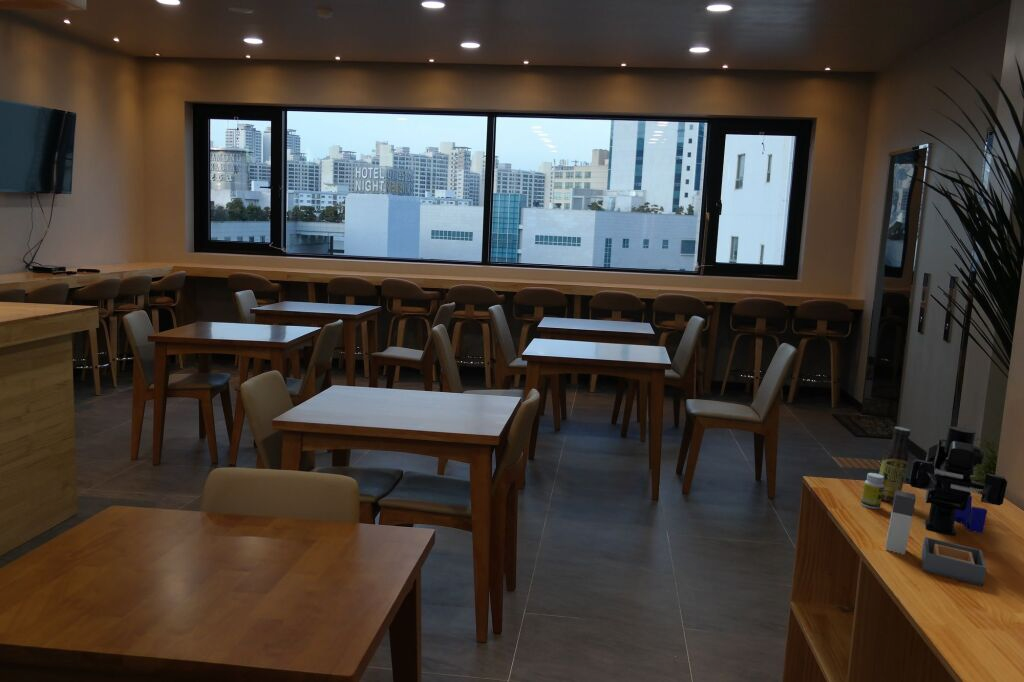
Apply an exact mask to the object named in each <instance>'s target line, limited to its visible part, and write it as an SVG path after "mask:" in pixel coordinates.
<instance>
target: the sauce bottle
mask: <svg viewBox="0 0 1024 682" xmlns="http://www.w3.org/2000/svg"><path fill="white" fill-rule="evenodd" d="M892 432H893V434H892V439H891V443H890V444H889V445H888V446H887V448H885V450H884V453H883V456H882V457H883V458H882V460H881V464H880V468H879V472H878V474H880V475H882V476H884V481H883V484H884V490H883V495H882V500H881V501H884V502H889V503H893V502H894V497H895V492H896V490H898V491H902V490H903V486H904V481H905V477H906V474H907V469H908V464H909V455H910V452H909V449H908V441H909V437H910V435H911V429H909V428H906V427H901V426H894V428H893V430H892ZM902 492H903V491H902Z"/></svg>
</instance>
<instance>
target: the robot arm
mask: <svg viewBox="0 0 1024 682" xmlns="http://www.w3.org/2000/svg"><path fill="white" fill-rule="evenodd" d="M976 435H977V431H976V430H971V429H968V428H966V427H962V426H950V425H949V426H948V429H947V434H946V438H945V439H943V438H941V439H938V441H937V444H935V445H933V446H931V447H928V450H927V453H926V455H925V456H926V457H925V460H924V459H917V458H916V459H914V460H913V461H912V465H911V470H910V475H909V481H908V482H909V483H908V484H909V486H910V487H911V488H915V489H918V490H923V491H926V494H925V503H926V504H930V507H929V512H928V517H927V519H924V524H925V525H924V526H925V529H927V530H931V531H935V532H939V533H944V534H949V535H953V536H955V535H956V529H955V517H956V512H957V509H958V510H962V511H964V510H967V506H968V502H969V499H970V496H972V493H973V494H976V495H977V494H978V495H981V497H980V502H981V503H983V504H989V505H994V506H1001V505H1003V504H1004V499H1005V495H1006V491H1007V486H1008V479H1006V477H1005V476H1004V475H1003V476H1002V475H997V474H992V473H986V474H985V478H984V483H981V482H976V481H972V479H971V476H973V475H974V472H975V469H974V468H975V467H976V466H977V465H980V466H981V465H982V464H983V460H984V456H985V451H984V450H982V449H981V448H979V446H975V445H974V444H975V439H976Z"/></svg>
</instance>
